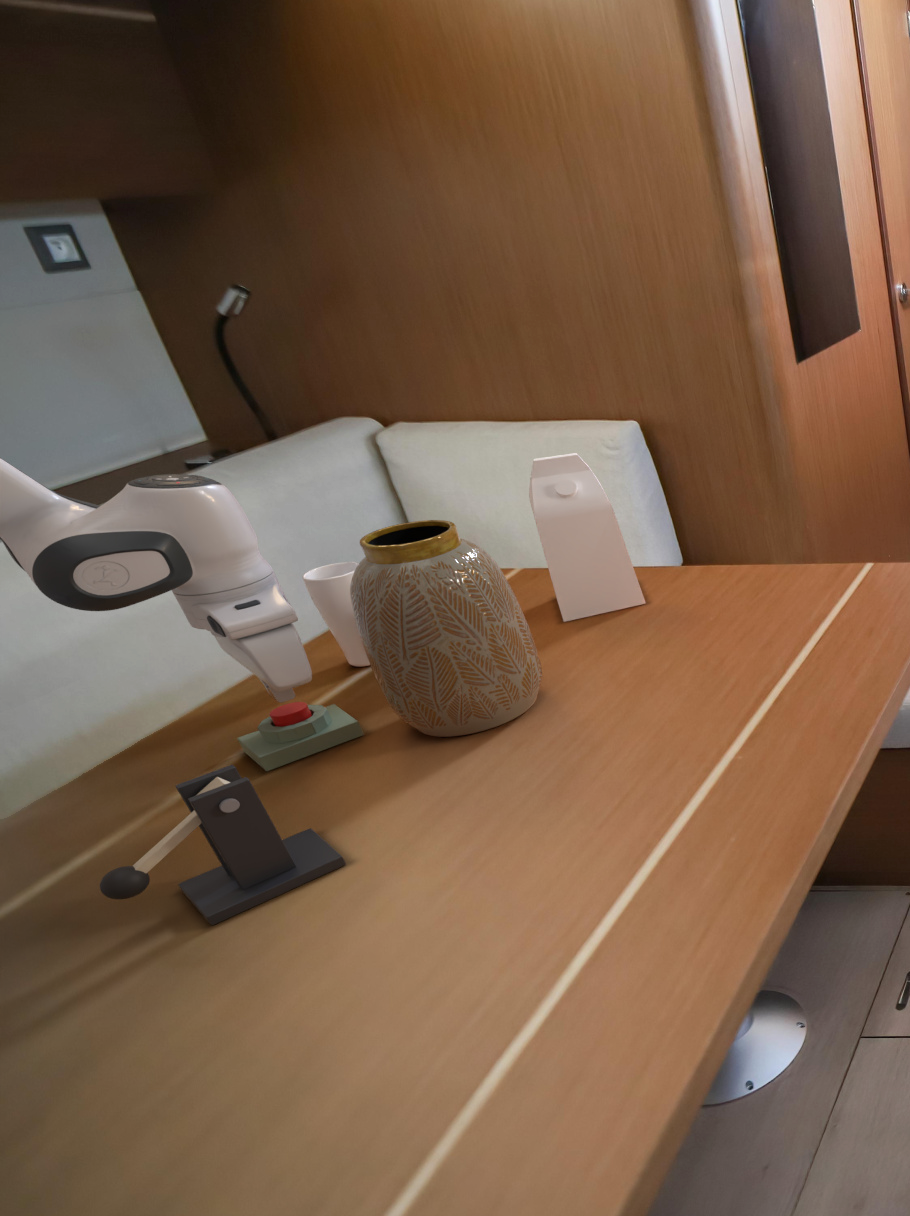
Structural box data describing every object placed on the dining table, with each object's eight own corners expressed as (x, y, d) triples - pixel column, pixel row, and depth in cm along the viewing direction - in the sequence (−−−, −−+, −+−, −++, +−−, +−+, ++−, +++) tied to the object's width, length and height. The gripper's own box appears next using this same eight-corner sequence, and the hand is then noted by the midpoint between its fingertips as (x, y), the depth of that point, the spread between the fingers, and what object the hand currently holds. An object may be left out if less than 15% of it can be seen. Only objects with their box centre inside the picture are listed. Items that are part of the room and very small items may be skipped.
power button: (280, 730, 122) (275, 719, 122) (270, 722, 124) (264, 711, 123) (316, 718, 125) (311, 706, 124) (306, 710, 127) (300, 698, 126)
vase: (570, 674, 143) (513, 505, 131) (524, 736, 128) (455, 552, 117) (437, 687, 139) (365, 514, 127) (373, 753, 124) (285, 564, 112)
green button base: (266, 771, 120) (252, 745, 119) (244, 751, 124) (230, 726, 122) (364, 734, 128) (352, 709, 126) (340, 717, 132) (328, 692, 130)
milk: (634, 581, 173) (593, 442, 162) (645, 603, 165) (603, 459, 154) (556, 598, 167) (507, 454, 155) (563, 621, 159) (513, 472, 147)
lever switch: (132, 909, 94) (94, 897, 91) (122, 896, 95) (85, 885, 93) (254, 796, 100) (221, 783, 97) (243, 786, 101) (210, 772, 99)
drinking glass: (397, 663, 145) (358, 574, 139) (339, 674, 142) (296, 583, 135) (403, 645, 150) (366, 558, 144) (347, 655, 147) (306, 567, 140)
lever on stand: (211, 926, 97) (150, 826, 91) (182, 892, 101) (122, 795, 96) (346, 864, 106) (298, 769, 100) (314, 835, 110) (266, 743, 104)
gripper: (171, 590, 119) (222, 685, 125) (228, 632, 110) (280, 732, 116) (239, 573, 124) (285, 665, 130) (299, 612, 115) (345, 709, 121)
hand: (283, 697), depth 123 cm, fingers closed
